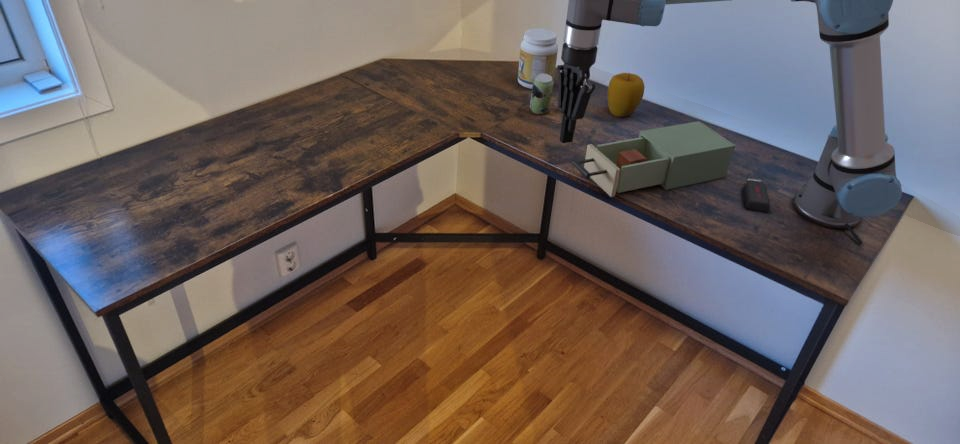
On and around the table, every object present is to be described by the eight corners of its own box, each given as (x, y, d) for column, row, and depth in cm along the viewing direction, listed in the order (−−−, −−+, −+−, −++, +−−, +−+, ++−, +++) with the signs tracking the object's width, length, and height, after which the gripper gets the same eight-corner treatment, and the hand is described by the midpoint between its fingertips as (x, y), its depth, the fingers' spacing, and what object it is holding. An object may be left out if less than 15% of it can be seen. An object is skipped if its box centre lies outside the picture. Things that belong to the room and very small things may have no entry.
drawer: (589, 201, 159) (594, 174, 154) (562, 174, 169) (566, 148, 164) (671, 184, 168) (678, 158, 163) (641, 159, 177) (647, 134, 173)
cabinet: (665, 190, 167) (673, 157, 161) (633, 162, 178) (639, 131, 172) (725, 177, 174) (735, 145, 168) (690, 151, 184) (699, 120, 179)
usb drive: (746, 208, 162) (749, 199, 160) (741, 184, 171) (744, 175, 170) (768, 212, 161) (771, 203, 159) (762, 187, 170) (765, 178, 169)
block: (626, 180, 166) (630, 161, 163) (615, 170, 170) (618, 152, 166) (642, 176, 168) (646, 158, 165) (631, 167, 171) (635, 149, 168)
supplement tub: (514, 75, 222) (518, 27, 213) (549, 76, 224) (555, 27, 214) (520, 90, 213) (524, 40, 203) (556, 90, 214) (563, 40, 204)
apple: (636, 124, 197) (644, 84, 189) (600, 118, 199) (607, 78, 192) (640, 110, 205) (649, 71, 198) (606, 104, 208) (613, 65, 200)
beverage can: (544, 106, 204) (548, 69, 197) (553, 116, 198) (558, 79, 191) (525, 107, 202) (529, 71, 195) (534, 118, 197) (538, 81, 190)
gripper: (611, 53, 137) (593, 151, 151) (580, 32, 147) (566, 126, 160) (580, 56, 134) (565, 156, 148) (550, 35, 144) (539, 130, 158)
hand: (565, 141), depth 154 cm, fingers closed
